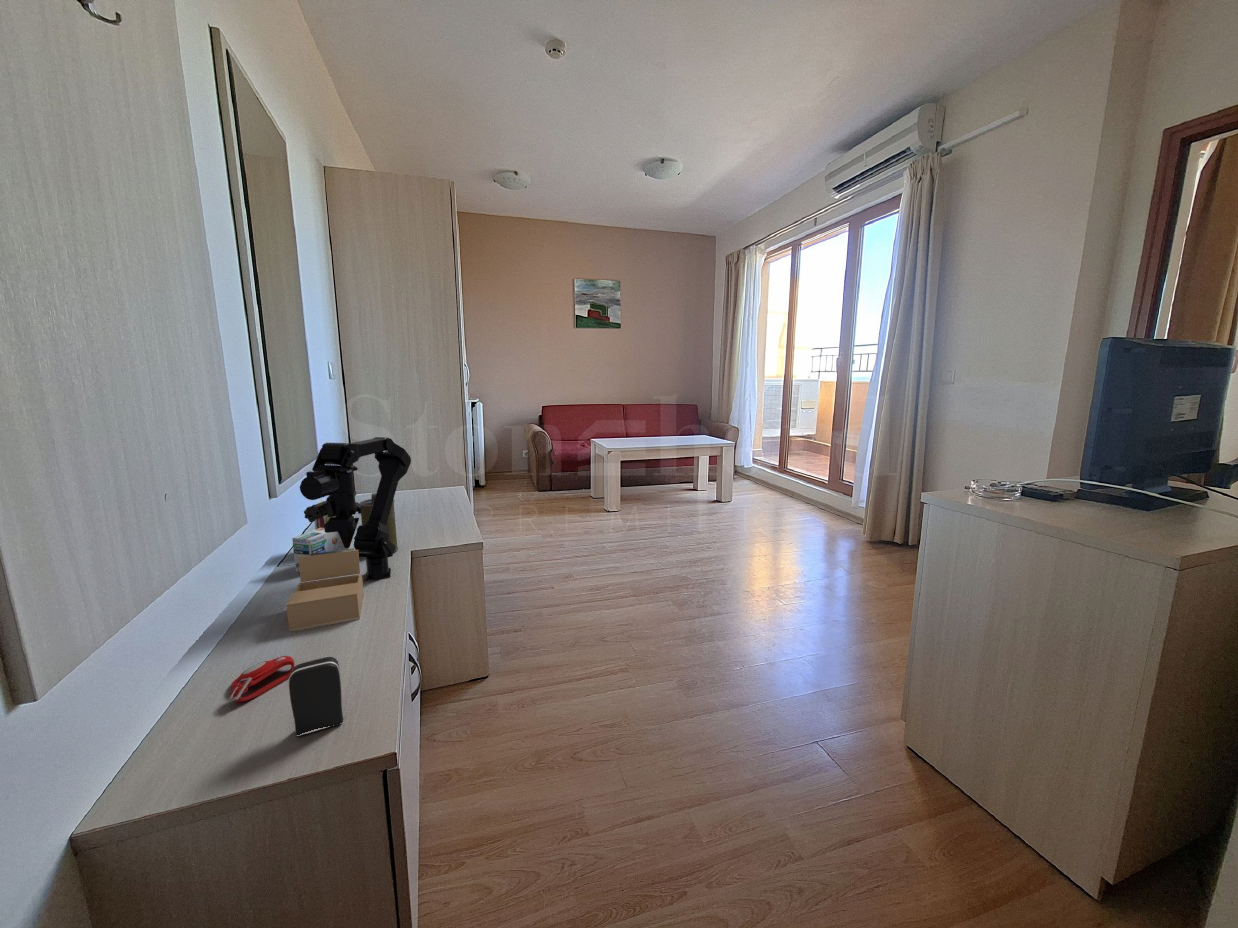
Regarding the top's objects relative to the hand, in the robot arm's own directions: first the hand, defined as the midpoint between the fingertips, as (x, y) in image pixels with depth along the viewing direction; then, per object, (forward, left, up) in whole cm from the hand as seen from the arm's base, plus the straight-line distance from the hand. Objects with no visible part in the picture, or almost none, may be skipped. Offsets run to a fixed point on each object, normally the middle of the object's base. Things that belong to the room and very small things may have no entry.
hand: (347, 547), depth 123 cm
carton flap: (+3, -4, -4) cm, 6 cm away
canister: (-32, +6, -13) cm, 35 cm away
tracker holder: (+37, -13, -13) cm, 41 cm away
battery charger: (+54, 0, -13) cm, 56 cm away
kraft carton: (+10, -4, -13) cm, 17 cm away
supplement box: (-40, -8, -13) cm, 43 cm away
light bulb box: (-25, -11, -13) cm, 30 cm away
